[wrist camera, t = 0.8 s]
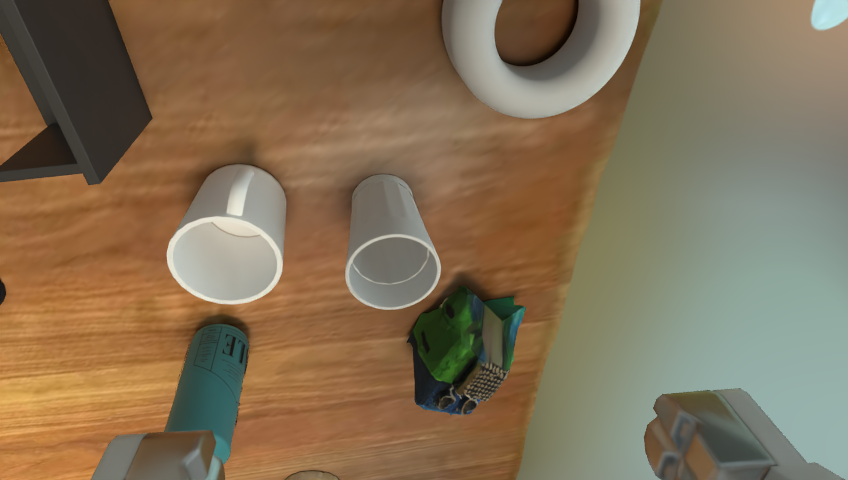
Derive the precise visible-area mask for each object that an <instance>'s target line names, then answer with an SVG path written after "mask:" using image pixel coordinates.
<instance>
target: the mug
mask: <svg viewBox="0 0 848 480" xmlns="http://www.w3.org/2000/svg"><path fill="white" fill-rule="evenodd" d="M286 204H287V200H286V196H285V192H284V190H283V188H282V187H281V185H280V183H279V182H278V181H277V180H276V179H275V178H274V177H273V176H272V175H271V174H269V173H267V172H266V171H264V170H262V169H260V168H257V167H254V166H251V165H244V164H233V165H226V166H224V167H221V168H219V169H216V170H215V171H214V172H212V173H211V174H210V175H208V177H207V178H206V180H205V181H204V183H203V184H202V186H201V188H200V190H199V191H198V193H197V195H196V196H195V198H194V200H193V202H192V203H191V205H190V207H189V209H188V210H187V212H186V214H185V216H184V217H183V219H182V221H181V223H180V224H179V226H178V228H177V229H176V231H175V233H174V235H173V236H172V238H171V240H170V242H169V246H168V250H167V262H168V266H169V269H170V271H171V273H172V275H173V277H174V278H175V279H176V280H177V282H178V283H179V284H180V285H181V286H182V287H183V288H185V289H186V290H187V291H189V292H190V293H191V294H193V295H195V296H197V297H200V298H202V299H204V300H206V301H211V302H215V303H219V304H240V303H247V302H250V301H253V300H256V299H258V298H261V297H262V296H264V295H265V294H267V293H268V292H270V291H271V290H272V289H273V287H274V286H275V285H276V284H277V283H278V281H279V278H280V276H281V273H282V267H283V251H284V236H285V220H286Z"/></svg>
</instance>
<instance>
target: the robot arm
mask: <svg viewBox="0 0 848 480" xmlns="http://www.w3.org/2000/svg"><path fill="white" fill-rule="evenodd" d="M653 409H654V411H655V412H656V414H657V417H656V418H655V419H654V420H652V421H651V422H650V423H649V424H648V425H647V429H646V432H645V436H644V442H645V451H646V455H647V458H648V461H649V463H650V465H651V467H652V469H653V471H654V473H655V475H656V476H657V477H658V478H660V479H661V480H845V479H843V478H841V477H839V476H838V475H836V474H834V473H833V472H831V471H829V470H827V469H826V468H824V467H822V466H821V465H819V464H817V463H807V462H806V461H805V459H804V458H803V457H802V456H801V455H800V454H799V452H798V451H797V450H796V449H795V448H794V446H793V445H792V444H791V443H790V442H789V441H788V439H787V438H786V437H785V436H784V435H783V434H782V432H781V431H780V430H779V429H778V428H777V427H776V425H775V424H774V423H773V422H772V421H771V420H770V418H769V417H768V416H767V415H766V414H765V413H764V411H763V410H762V409H761V408H760V407H759V406H758V404H757V403H756V402H755V401H754V400H753V399H752V398H751V396H750V395H749V394H748V393H747V392H745V391H743V390H742V389H740V388H738V389H725V390H714V391H710V390H706V391H694V392H684V393H672V394H662V395H661V396H660V397H658V399H656V402H655V405H654V407H653ZM215 446H216V440H215V437H214V434H213V431H212V430H196V431H176V432H156V433H141V434H125V435H117V436H116V437H115V438H114V439H113V440H112V441H111V442H110V443H109V444H108V446H107V448H106V450H105V452H104V454H103V456H102V458H101V460H100V462H99V464H98V466H97V468H96V470H95V472H94V474H93V476H92V478H91V480H225V472H224V466H223V463H222V459H220V458H219V457H217V456H216V455H214V454H213V453H214V450H215Z"/></svg>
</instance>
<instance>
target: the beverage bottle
mask: <svg viewBox="0 0 848 480" xmlns="http://www.w3.org/2000/svg"><path fill="white" fill-rule="evenodd" d="M189 345H190V347H188V348H189V351H188V350H187V352H188V354H187V353H186V355H187V357H185V358H186V360H184V361H185V364H184V367H183V366H182V367H183V370H182V369H181V371H182V374H181V377H180V380H179V384H178V387H177V392H176V391H175V398H174V402H173V405H172V408H171V411H170V414H169V417H168V421H167V424H166V427H165V430H164V432H176V431H196V430H212V431H213V434H214V437H215V440H216V446H215V450H214V453H213V454H214V455H216V456H217V457H219V458H220V459H222V463H223V464H224V463H226V461H227V460H228V458H229V456H230V452H231V442H232V436H233V434H234V433H233V431H234V426H235V425H236V423H237V421H236V419H238V418H236V416H237V417H238V414H239V412H238V411H237V410H239V409H238V406H240V405H239V404H240V403H239V399H240V394H241V392H242V391H241V389H242V388H243V387H242V383H243V378H244V373H245V372H246V368H247V365H246V364H247V363H248V361H247V359H248V357H249V356H247V355H248V349H249V346H250V345H249V342H248V340H247V337H246V335H245V334H244V333H243V332H242V331H241V330H239V329H238V328H236V327H234V326H231V325H227V324H211V325H208V326H205V327H203V328H201V329H200V330H199V331H198V332H197V333H196V334H195V335H194V337H193V338H192V341H191V344H189ZM188 348H187V349H188ZM186 355H185V356H186ZM179 376H180V375H179ZM178 379H179V378H178ZM237 413H238V414H237ZM235 421H236V423H235Z"/></svg>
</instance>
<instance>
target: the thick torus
mask: <svg viewBox="0 0 848 480" xmlns="http://www.w3.org/2000/svg"><path fill="white" fill-rule="evenodd" d="M502 1H503V0H443V7H442V32H443V39H444V43H445V47H446V50H447V53H448V56H449V58H450V60H451V62H452V64H453V66H454V68H455V69H456V71H457V72H458V74H459V76H460V77H461V79H462V80H463V82H464V83H465V84H466V86H467V87H468V89H469V90H470V91H471V92H472V93H473V94H474V95H475V96H476V97H477V98H478V99H479V100H480V101H481V102H483V103H484V104H485V105H487V106H488V107H490V108H492V109H494V110H496V111H498V112H500V113H503V114H505V115H509V116H513V117H518V118H543V117H549V116H553V115H557V114H560V113H563V112H565V111H568V110H570V109H572V108H574V107H576V106H578V105H580V104H581V103H583V102H584V101H586V100H587V99H589V98H590V97H591V96H593V95H594V94H595V93H596V92H598V91H599V90H600V89H601V88H602V87H603V86H604V85H605V84H606V83H607V82H608V81H609V79H610V78H611V77H612V76H613V75H614V73H615V72H616V71H617V69H618V68H619V66H620V65H621V63H622V61H623V60H624V58H625V56H626V54H627V52H628V50H629V48H630V46H631V43H632V41H633V38H634V35H635V32H636V28H637V24H638V19H639V12H640V0H579V8H578V16H577V20H576V23H575V26H574V29H573V31H572V33H571V35H570V36H569V38H568V40H567V41H566V43H565V44H564V45H563V46H562V47H561V49H560V50H559V51H558V52H556V53H555V54H554V55H553V56H552V57H550V58H549V59H547V60H545V61H543V62H541V63H539V64H536V65H532V66H523V67H521V66H514V65H510V64H507V63H505V62H503V61H502V60H501V58H500V57H499V54H498V52H497V49H496V45H495V38H494V28H495V21H496V17H497V13H498V10H499V8H500V5H501V3H502Z"/></svg>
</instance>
